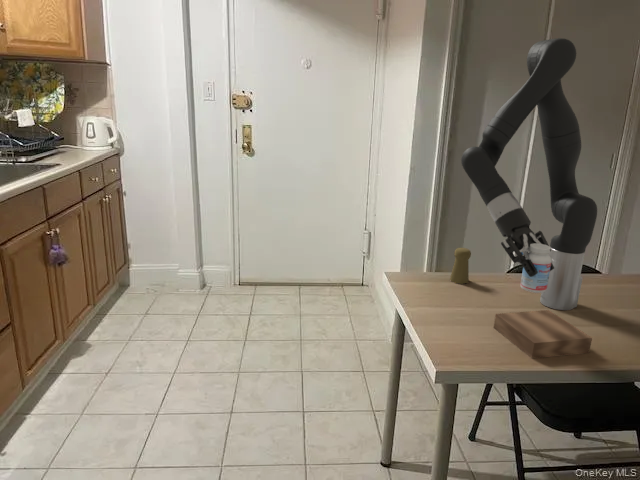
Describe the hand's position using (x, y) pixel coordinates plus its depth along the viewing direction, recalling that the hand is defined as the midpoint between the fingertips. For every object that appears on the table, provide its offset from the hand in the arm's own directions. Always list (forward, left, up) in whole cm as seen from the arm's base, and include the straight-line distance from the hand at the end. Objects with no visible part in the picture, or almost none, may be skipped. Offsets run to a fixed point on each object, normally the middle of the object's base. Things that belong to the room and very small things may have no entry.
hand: (542, 272), depth 124 cm
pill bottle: (0, -2, -5) cm, 5 cm away
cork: (-2, -40, -18) cm, 44 cm away
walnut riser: (-2, +1, -18) cm, 18 cm away
